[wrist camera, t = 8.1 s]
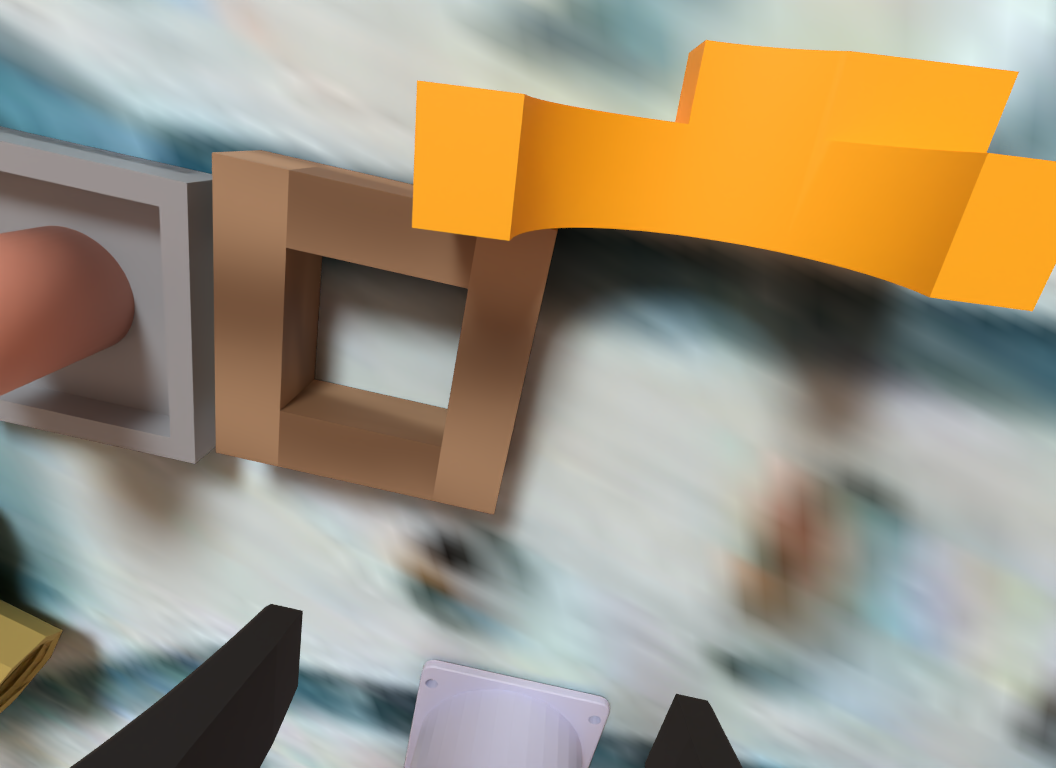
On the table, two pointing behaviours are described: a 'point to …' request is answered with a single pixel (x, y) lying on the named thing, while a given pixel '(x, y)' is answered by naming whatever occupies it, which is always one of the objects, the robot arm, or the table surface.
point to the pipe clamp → (764, 168)
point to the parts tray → (157, 285)
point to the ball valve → (22, 650)
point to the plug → (57, 302)
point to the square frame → (292, 323)
